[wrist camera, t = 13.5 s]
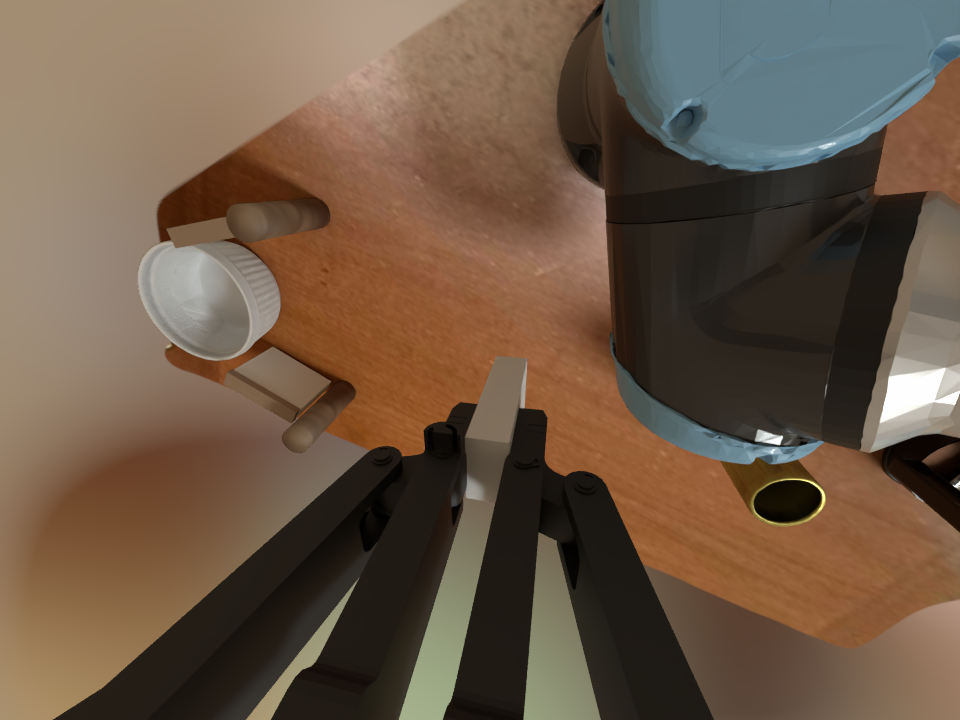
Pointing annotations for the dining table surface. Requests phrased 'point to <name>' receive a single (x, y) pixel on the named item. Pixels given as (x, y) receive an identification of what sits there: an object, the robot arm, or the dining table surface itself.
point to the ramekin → (208, 297)
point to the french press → (925, 474)
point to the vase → (777, 491)
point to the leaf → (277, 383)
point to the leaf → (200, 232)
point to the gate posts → (273, 222)
